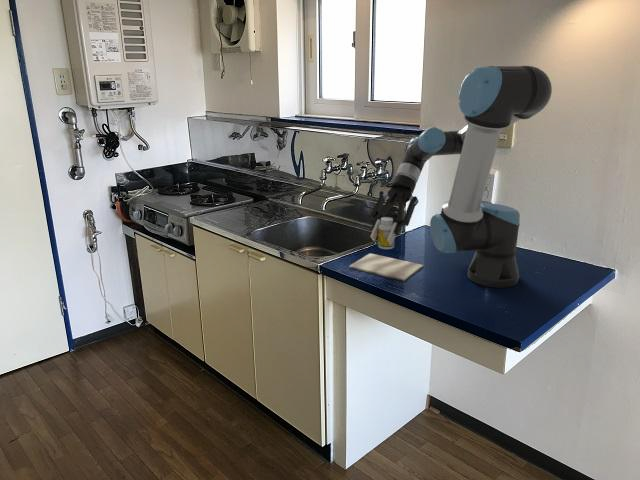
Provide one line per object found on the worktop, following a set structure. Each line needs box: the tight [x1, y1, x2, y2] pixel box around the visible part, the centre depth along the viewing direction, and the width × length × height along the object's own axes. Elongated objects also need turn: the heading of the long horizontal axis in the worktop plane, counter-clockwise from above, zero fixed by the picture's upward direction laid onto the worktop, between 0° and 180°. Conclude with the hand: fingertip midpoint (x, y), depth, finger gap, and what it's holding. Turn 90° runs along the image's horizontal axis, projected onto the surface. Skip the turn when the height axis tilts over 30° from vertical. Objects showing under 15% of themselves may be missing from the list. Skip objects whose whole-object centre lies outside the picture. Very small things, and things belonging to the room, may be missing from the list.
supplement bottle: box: [377, 216, 396, 250], centre depth 168 cm, size 5×5×10 cm
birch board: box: [348, 253, 424, 282], centre depth 171 cm, size 20×14×1 cm
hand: (381, 240), depth 165 cm, fingers closed on supplement bottle, 5 cm apart
